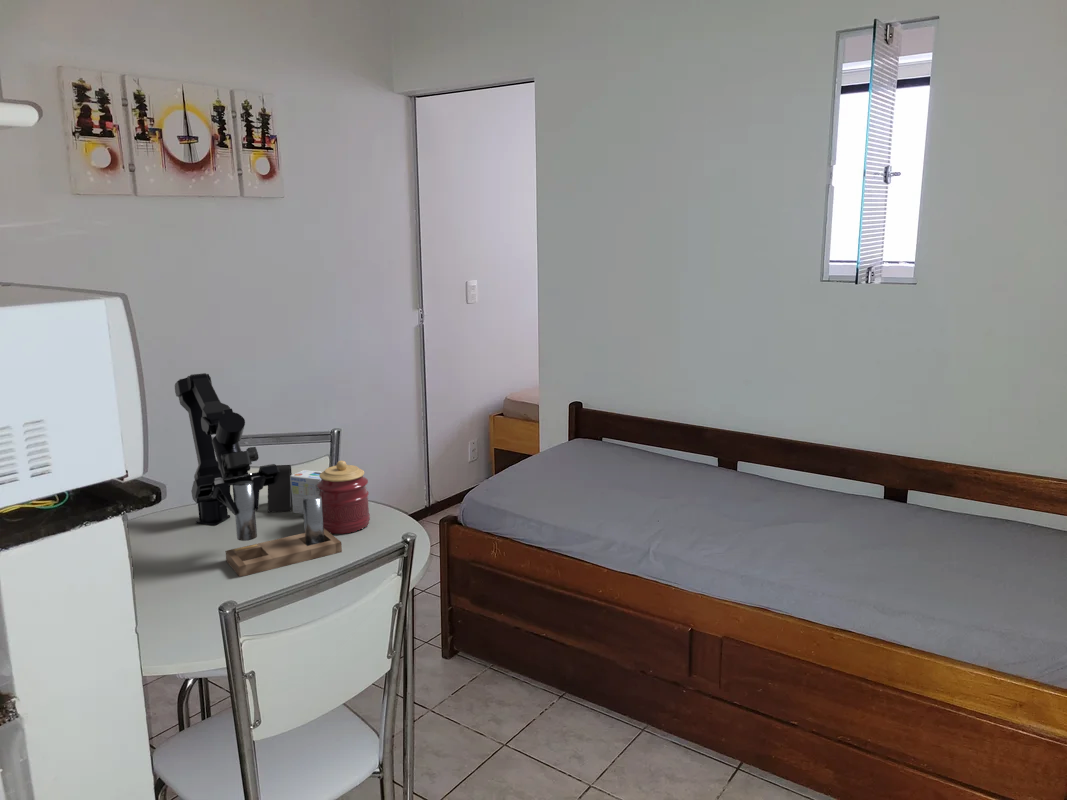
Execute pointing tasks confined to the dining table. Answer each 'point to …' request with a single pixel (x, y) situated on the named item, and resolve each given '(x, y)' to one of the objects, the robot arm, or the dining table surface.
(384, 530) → the dining table surface
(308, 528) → the cylinder
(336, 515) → the canister
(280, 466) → the phone stand
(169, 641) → the dining table surface
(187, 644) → the dining table surface
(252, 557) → the wooden slotted holder
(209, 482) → the robot arm
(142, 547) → the dining table surface
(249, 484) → the cylinder
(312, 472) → the light bulb box
